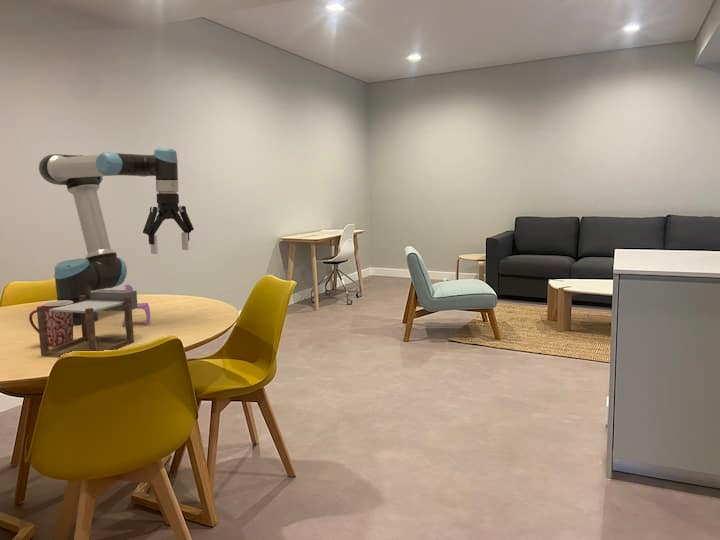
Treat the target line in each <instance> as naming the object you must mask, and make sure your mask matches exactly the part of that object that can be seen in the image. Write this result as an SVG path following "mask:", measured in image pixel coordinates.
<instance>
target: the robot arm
mask: <svg viewBox="0 0 720 540" xmlns="http://www.w3.org/2000/svg"><path fill="white" fill-rule="evenodd" d="M178 162H179V161H178V154H177V150H175V149H173V148H160V147H159V148H155V149H154V153H153V154H133V153H121V152H119V153H118V152H113V151H112V152H109V151H108V152H101V153H99V154H89V155H83V154H80V155H77V154H76V155H74V154H59V153H57V154H56V153H54V154H48V155H46V156H44V157H43V158H42V159H40V161H39V164H38V171H39V174H40V176H41V177H42V178H43V179H44V180H45V181H46V182H48V183H50V184H52V185H58V186H66V189H67V192H68V193H69V194H71V195H72V196H73V199H74V204H75V207H76V211H77V214H78V218H79V219H78V220H79V223H80V227H81V231H82V235H83V240H84V243H85V247H86V251H87V253H86V256H85V257H84V258H73V259H68V260H63V261H61V262H58V263H56V265H55V266H54V276H53V277H54V281H55V290H56V291H55V292H56V301H62V300H67V301H73V304H75V303H79V296H81V295H86V299H87V300H91V292H93V291H98V290H107V289H112V288H116V287H118V286H120V285H122V284H123V283H124V282H125V279H126V278H127V274H128V273H127V272H128V271H127V264H126V262H125V261H124V259H122V258H121V257H118V255H117V252H116V251H115V250H113V249H112V248H111V244H110V240H109V235H108V231H107V228H106V224H105V219H104V216H103V212H102V208H101V207H102V206H101V203H100V198H99V194H98V190H100V187H101V186H100V184H101V183H102V182H103V177H106V176H107V177H110V176H111V177H112V176H113V177H114V176H128V177H129V176H130V177H133V176H134V177H135V176H136V177H155V192H157V193H156V203H157V206H150V207H149V213H148V217H147V219H146V222H145V224H144V228H143V230H142V233H143V234H145V235H146V236H147V237H148V244H149V245H150V254H152V255H157V254H158V250H159V249H158V236H157V234H156V233H157V231H158V230H159V228H160V227H161V225H162V224H163V223H164V221H165V220H169V219H171V220H174V221H175V223H176V224H177V225H178V226H179V228H180V229H181V231H182V232H181V234H180V235H181V250H182V251H189V250H190V249H189V242H190V234H191V233H192V231H194V229H195V228H194V226H193V224H192V222H191V219H190V218H189V217H190V216H189V214H188V213H187V207H186V206H185V205H179V203H180V199H179V198H180V197H179V196H180V195H179V193H178V192H179V175H178V174H179V172H178V170H179V169H178V168H179V167H178ZM155 234H156V235H155ZM158 255H159V254H158ZM98 320H99V314H98V311H96V312H94V322H96V321H98ZM78 325H81V313H76V312H73V326H78Z"/></svg>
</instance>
